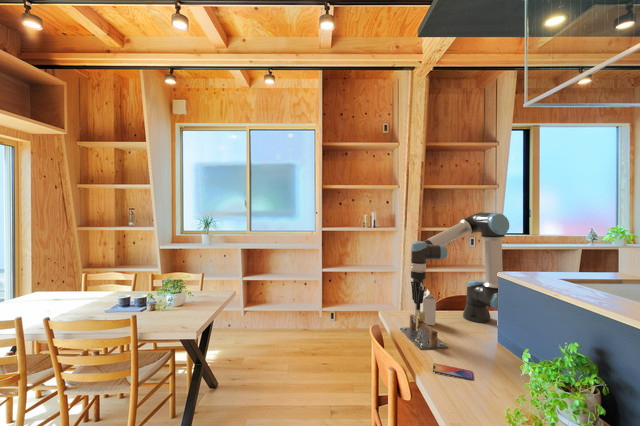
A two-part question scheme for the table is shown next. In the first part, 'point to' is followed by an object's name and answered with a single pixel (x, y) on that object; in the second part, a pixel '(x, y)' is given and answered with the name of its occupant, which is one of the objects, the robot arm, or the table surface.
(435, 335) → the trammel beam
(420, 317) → the slider
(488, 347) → the table surface
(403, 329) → the flange plate
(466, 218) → the robot arm
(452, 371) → the smartphone
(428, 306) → the milk carton
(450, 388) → the table surface
